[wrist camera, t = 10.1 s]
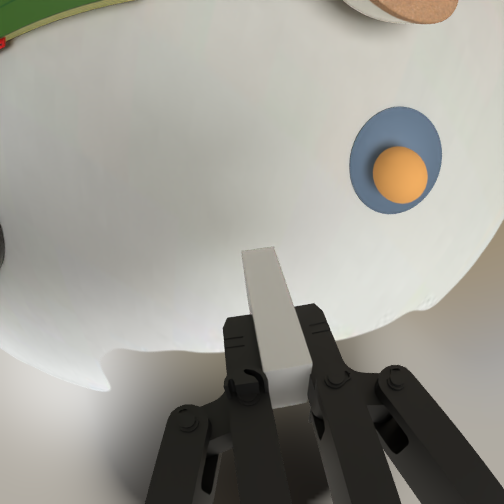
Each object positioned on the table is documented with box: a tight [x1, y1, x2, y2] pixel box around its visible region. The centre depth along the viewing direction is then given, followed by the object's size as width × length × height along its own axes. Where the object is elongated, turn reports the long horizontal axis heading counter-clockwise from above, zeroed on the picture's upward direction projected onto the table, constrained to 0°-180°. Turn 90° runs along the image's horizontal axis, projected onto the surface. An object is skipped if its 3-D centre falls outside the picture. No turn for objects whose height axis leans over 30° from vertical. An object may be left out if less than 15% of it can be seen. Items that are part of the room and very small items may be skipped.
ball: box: [373, 146, 428, 204], centre depth 25 cm, size 6×6×6 cm
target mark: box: [350, 107, 442, 214], centre depth 27 cm, size 12×12×1 cm
